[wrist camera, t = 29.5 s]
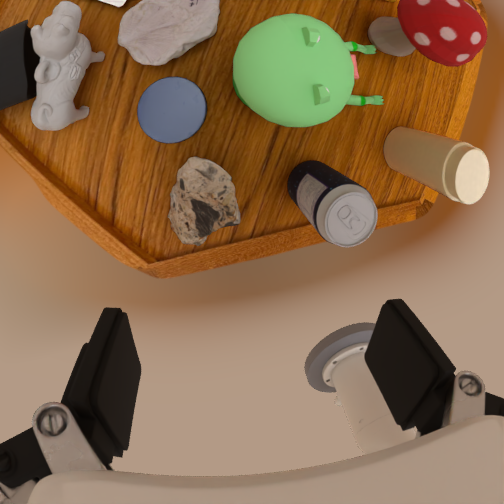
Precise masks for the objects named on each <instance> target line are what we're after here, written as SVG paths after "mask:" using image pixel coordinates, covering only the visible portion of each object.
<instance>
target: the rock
mask: <svg viewBox="0 0 504 504" xmlns="http://www.w3.org/2000/svg"><path fill="white" fill-rule="evenodd" d="M231 179H232V177H231V176H230V175H229V174H228V173H227V172H226V171H225V170H224V169H222V167H220V166H219V165H217V164H216V163H214V162H212V161H210V160H208V159H202V158H199V157H196V156H195V157H191V158H189V159H188V160H187V162H186V163H185V165H183V166H182V168H180V169H179V170H178V174H177V183H176V184H175V185H174V186H173V188H172V191H171V193H170V196H171V204H170V206H171V209H170V211H169V214H168V218H170V220H171V229H172V230H173V231H174V232H176V234H177V236H178V238H179V239H180V240H181V241H182V243H184V244H191V245H193V244H195V245H197V246H200V245H201V244H203V243H204V241H206V239H207V236H208V235H210V234H211V233H212V232H213V231H217V229H219V228H222V227H227V226H235V225H238V224H239V223H240V212H239V209H238V204H237V202H236V201H237V199H236V197H235V187H234V184H233V183H232V182H231Z"/></svg>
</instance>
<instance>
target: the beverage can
mask: <svg viewBox="0 0 504 504" xmlns="http://www.w3.org/2000/svg"><path fill="white" fill-rule="evenodd" d="M288 192H289V195H290V197H291V199H292V200H293V201H294V202H295V204H296V205H297V206H298V207H299V209H300V210H301V211H302V212H303V214H304V215H305V216H306V217H307V219H308V220H309V221H310V223H311V224H312V225H313V226H314V228H315V229H316V230H317V232H318V233H319V234H320V235H321V237H322V238H323V239H325V240H326V241H328V242H330V243H332V244H336V245H338V246H341V247H353V246H356V245H358V244H361V243H362V242H364V241H365V240H366V239H367V238H368V237H369V236H370V235H371V233H372V232H373V230H374V228H375V226H376V223H377V208H376V205H375V203H374V201H373V199H372V197H371V195H370V193H369V192H368V191H367V190H366V189H365V188H364V187H362V186H361V185H359V184H357V183H356V182H354V181H353V180H351V179H349V178H348V177H346V176H344V175H343V174H341V173H339V172H338V171H336V170H334V169H332V168H331V167H329V166H327V165H325V164H324V163H322V162H319V161H306V162H303V163H301V164H299V165H298V166H297V167H295V168H294V170H293V171H292V172H291V174H290V176H289V179H288Z"/></svg>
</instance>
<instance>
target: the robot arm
mask: <svg viewBox="0 0 504 504" xmlns="http://www.w3.org/2000/svg"><path fill="white" fill-rule="evenodd" d="M455 370H456V368H455V366H454V365H453V364H452V363H451V361H450V359H449V358H448V357H447V356H446V354H445V353H444V351H443V350H442V349H441V347H440V346H439V345H438V343H437V342H436V341H435V340H434V338H433V337H432V336H431V334H430V333H429V332H428V331H427V329H426V328H425V327H424V325H423V324H422V323H421V322H420V320H419V319H418V318H417V317H416V315H415V314H414V313H413V312H412V311H411V309H410V308H409V307H408V306H407V304H406V303H405V302H404V301H403V300H402V299H393V300H387V301H386V303H385V304H384V305H383V306H382V308H381V311H380V314H379V317H378V320H377V322H376V325H375V328H374V331H373V333H372V336H371V339H370V341H369V343H368V342H364V343H357V344H353V345H351V346H348V347H346V348H344V349H342V350H340V351H339V352H337V353H336V354H335V355H333V356H332V357H331V358H330V359H329V360H328V361H327V363H326V364H325V366H324V368H323V370H322V377H323V380H324V382H325V383H326V384H327V385H328V386H331V387H335V389H336V391H337V397H336V399H335V404H336V405H338V406H341V405H342V407H343V409H344V412H345V414H346V417H347V419H348V422H349V424H350V427H351V430H352V432H353V435H354V438H355V440H356V443H357V445H358V447H359V448H360V449H361V451H362V452H364V453H365V454H366V455H362V456H359V457H355V458H351V459H347V460H343V461H339V462H334V463H329V464H324V465H319V466H314V467H309V468H302V469H296V470H289V471H283V472H274V473H265V474H254V475H239V476H212V477H211V476H205V477H204V476H203V477H202V476H169V475H153V474H141V473H131V472H119V471H115V470H114V469H113V468H112V466H111V465H110V463H112V459H113V456H116V457H122V455H123V450H127V449H128V446H129V439H130V432H131V426H132V420H133V414H134V408H135V402H136V397H137V392H138V386H139V381H140V376H141V364H140V361H139V358H138V355H137V351H136V347H135V343H134V340H133V336H132V332H131V328H130V324H129V320H128V316H127V314H126V313H125V312H122V310H121V309H120V308H104V310H103V312H102V314H101V316H100V318H99V321H98V323H97V325H96V327H95V330H94V332H93V334H92V336H91V339H90V341H89V343H85V344H84V345H83V347H82V349H81V351H80V354H79V356H78V358H77V361H76V363H75V366H74V368H73V371H72V373H71V376H70V378H69V381H68V384H67V386H66V389H65V392H64V395H63V397H62V400H61V403H58V402H49V403H46V404H43V405H42V406H40V407H39V408H38V409H37V410H36V411H35V413H34V415H33V419H32V426H33V427H32V428H30V429H28V430H26V431H24V432H22V433H20V434H18V435H16V436H15V437H13V438H11V439H9V440H7V441H5V442H3V443H1V444H0V504H504V399H503V398H501V397H498V396H495V395H492V394H490V393H487V392H485V385H484V383H483V381H482V379H481V378H480V377H479V376H478V375H476V374H475V373H473V372H471V371H461V372H459V373H458V374H457V375H456V376H455V375H454V372H455ZM414 426H416V428H417V433H416V432H415V430H414V429H413V428H414Z"/></svg>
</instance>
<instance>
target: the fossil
mask: <svg viewBox="0 0 504 504" xmlns="http://www.w3.org/2000/svg"><path fill="white" fill-rule="evenodd" d="M219 3H220V0H142V1H141V2H139V3H138V4H137V5H136V6H134V7H132V8H131V9H130V10H128V11H127V12H126V13H125V14H124V16H123V17H122V20H121V22H120V28H119V34H118V43H119V45H120V46H123V47H125V48H126V49H127V50H128V51H129V53H130V55H131V56H132V58H133V59H134V60H135V61H137V62H139V63H141V64H143V65H162V64H166V63H167V62H168V61H169V60H171V59H173V58H178V57H180V56H181V55H183V54H184V53H185V52H186V51H188V50H189V49H190V48H192V47H193V46H195V45H196V44H197V43H200V42H202V41H204V40H205V39H208V38H210V37H211V36H213V35H214V34H215V33H216V31H217V22H218V15H219V13H220V10H219Z"/></svg>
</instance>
